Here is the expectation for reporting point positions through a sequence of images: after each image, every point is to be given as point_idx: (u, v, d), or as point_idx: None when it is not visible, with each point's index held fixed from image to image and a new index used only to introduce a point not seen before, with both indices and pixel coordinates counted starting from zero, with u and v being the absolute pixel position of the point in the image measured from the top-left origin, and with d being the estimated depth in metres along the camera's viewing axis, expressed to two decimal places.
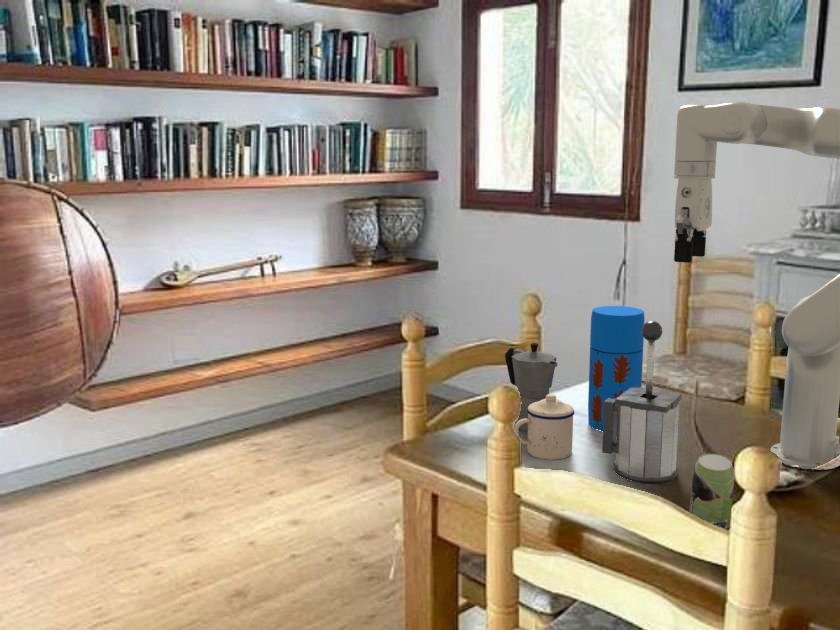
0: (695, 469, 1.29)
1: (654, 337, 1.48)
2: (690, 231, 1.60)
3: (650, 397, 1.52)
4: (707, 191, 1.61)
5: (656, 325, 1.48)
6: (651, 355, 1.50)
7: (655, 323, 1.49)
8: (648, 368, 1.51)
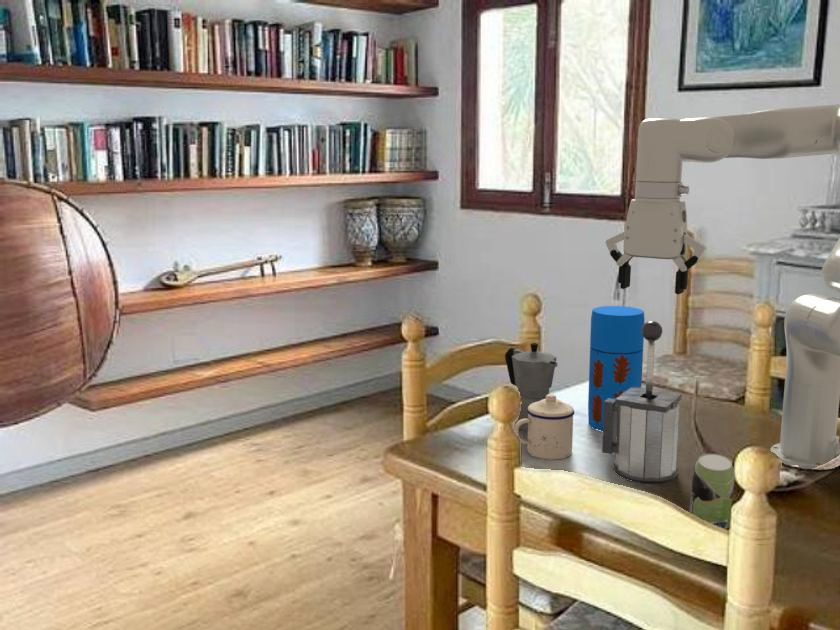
0: (695, 469, 1.29)
1: (654, 337, 1.48)
2: (685, 258, 1.45)
3: (650, 397, 1.52)
4: None
5: (656, 325, 1.48)
6: (651, 355, 1.50)
7: (655, 323, 1.49)
8: (648, 368, 1.51)
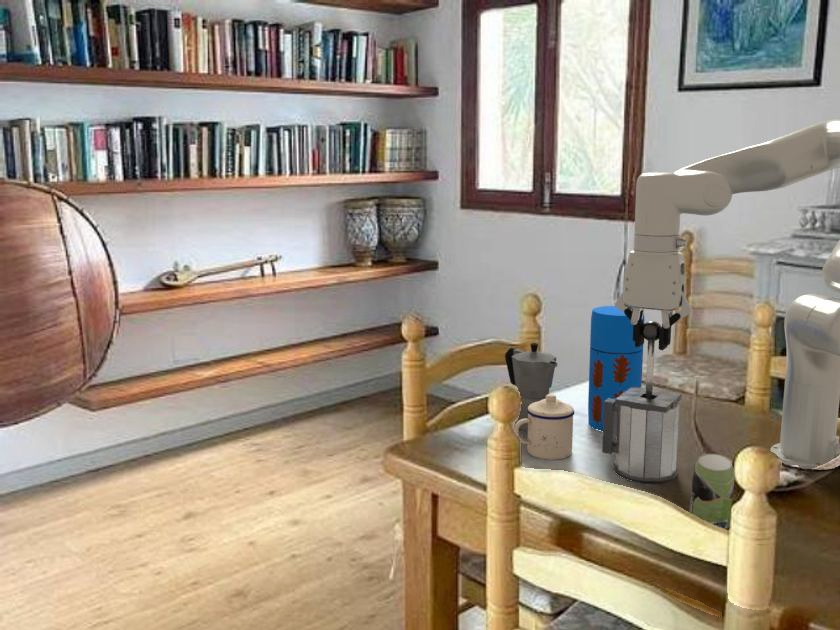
0: (695, 469, 1.29)
1: (654, 337, 1.48)
2: (672, 314, 1.48)
3: (650, 397, 1.52)
4: None
5: (655, 325, 1.48)
6: (651, 355, 1.50)
7: (655, 323, 1.49)
8: (648, 368, 1.51)
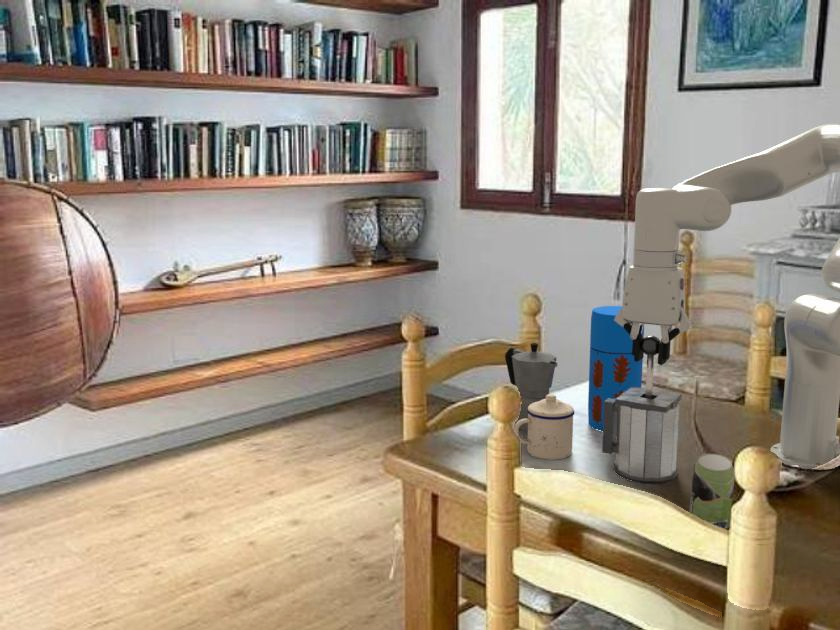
0: (695, 469, 1.29)
1: (653, 352, 1.49)
2: (671, 329, 1.49)
3: None
4: None
5: (655, 339, 1.49)
6: (650, 370, 1.51)
7: (654, 338, 1.49)
8: (647, 382, 1.51)
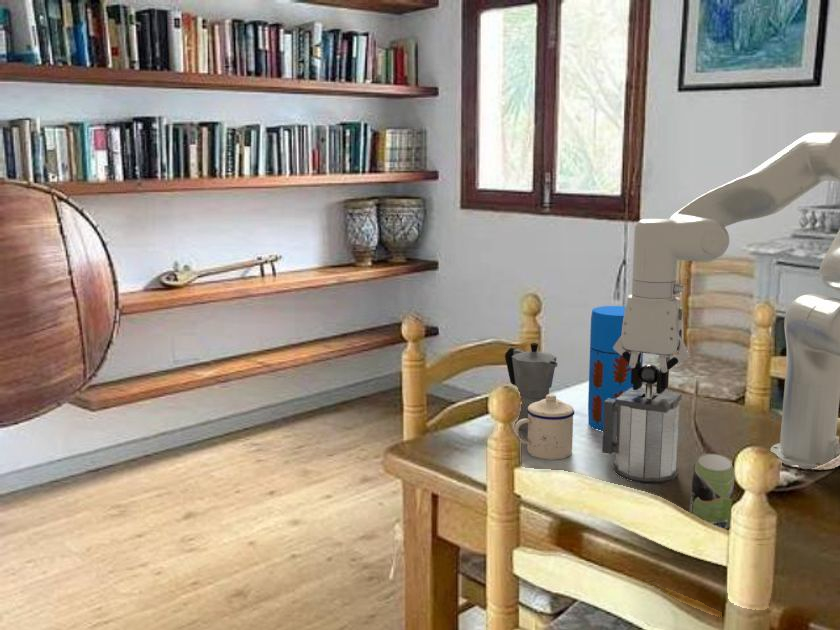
0: (695, 469, 1.29)
1: (652, 381, 1.50)
2: (670, 358, 1.50)
3: None
4: None
5: (653, 369, 1.50)
6: (649, 398, 1.52)
7: (653, 367, 1.50)
8: None
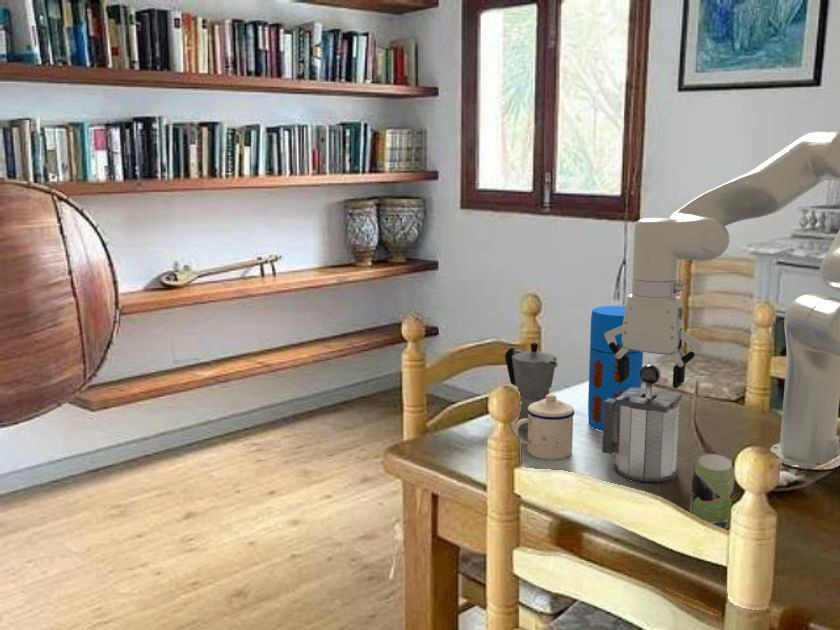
0: (695, 469, 1.29)
1: (652, 381, 1.50)
2: (682, 352, 1.49)
3: None
4: None
5: (653, 369, 1.50)
6: (649, 398, 1.52)
7: (653, 367, 1.50)
8: None
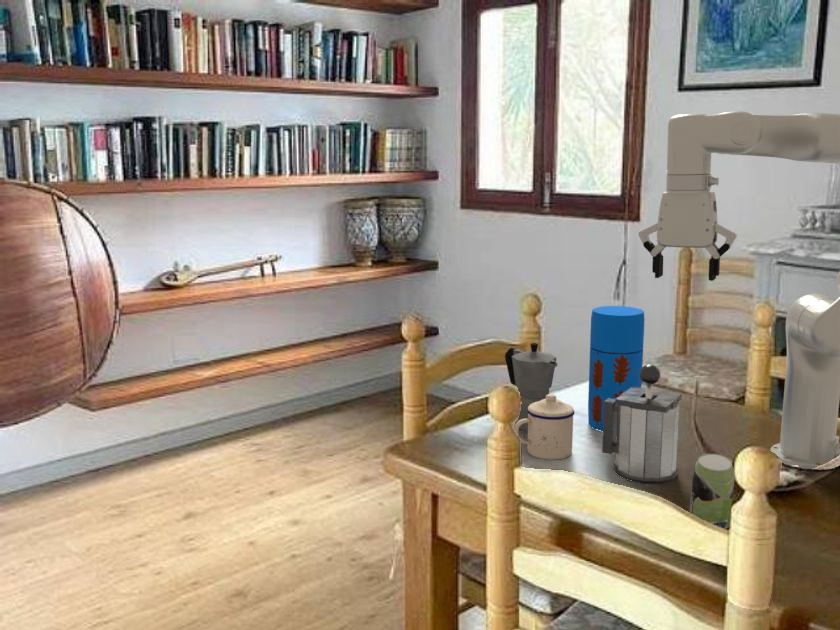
0: (695, 469, 1.29)
1: (652, 381, 1.50)
2: None
3: None
4: None
5: (653, 369, 1.50)
6: (649, 398, 1.52)
7: (653, 367, 1.50)
8: None
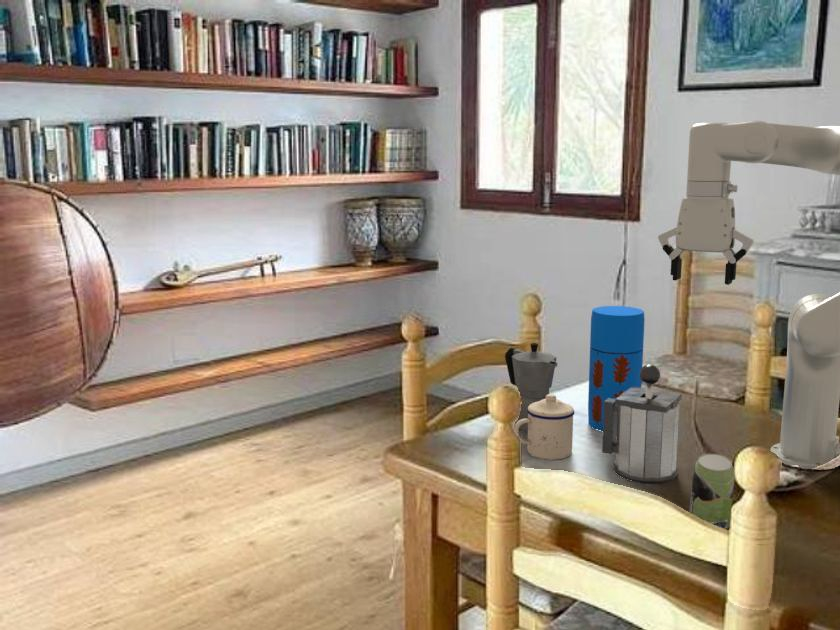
0: (695, 469, 1.29)
1: (652, 381, 1.50)
2: None
3: None
4: None
5: (653, 369, 1.50)
6: (649, 398, 1.52)
7: (653, 367, 1.50)
8: None
